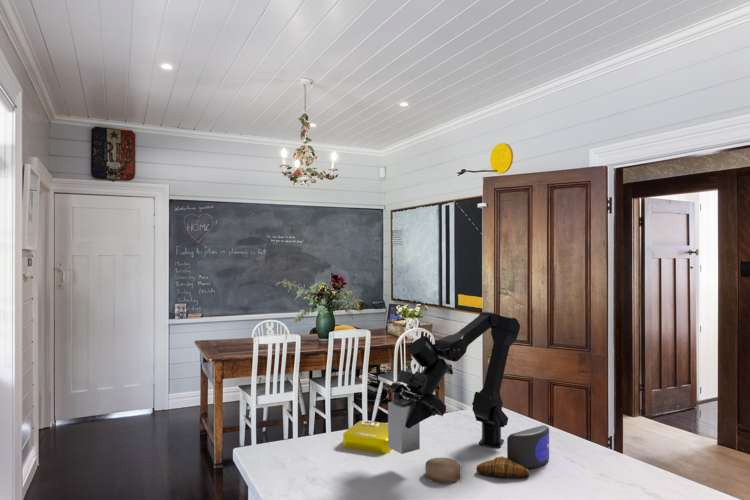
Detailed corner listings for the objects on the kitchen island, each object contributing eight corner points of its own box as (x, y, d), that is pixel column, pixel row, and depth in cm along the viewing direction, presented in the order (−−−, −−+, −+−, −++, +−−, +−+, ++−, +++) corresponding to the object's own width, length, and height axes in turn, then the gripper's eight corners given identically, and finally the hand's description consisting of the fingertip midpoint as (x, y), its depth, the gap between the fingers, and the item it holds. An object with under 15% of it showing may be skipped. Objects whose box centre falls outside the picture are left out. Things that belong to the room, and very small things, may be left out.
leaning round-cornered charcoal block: (519, 475, 133) (518, 438, 133) (505, 469, 136) (505, 433, 137) (558, 461, 142) (558, 427, 142) (544, 456, 145) (544, 423, 146)
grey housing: (405, 442, 140) (405, 397, 140) (419, 449, 135) (419, 402, 135) (388, 447, 136) (388, 400, 137) (401, 454, 132) (401, 405, 132)
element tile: (340, 448, 152) (340, 432, 152) (360, 432, 166) (360, 417, 166) (387, 455, 146) (387, 439, 147) (404, 438, 160) (404, 423, 160)
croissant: (528, 472, 135) (527, 453, 135) (530, 483, 128) (530, 463, 128) (476, 468, 137) (476, 449, 137) (476, 478, 131) (476, 459, 131)
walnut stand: (432, 466, 138) (432, 455, 138) (464, 472, 134) (464, 461, 134) (420, 479, 130) (420, 467, 130) (454, 486, 126) (454, 474, 126)
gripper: (394, 353, 146) (362, 398, 140) (437, 365, 131) (404, 415, 124) (415, 377, 150) (385, 421, 144) (460, 390, 135) (428, 441, 129)
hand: (399, 424), depth 135 cm, fingers closed on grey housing, 6 cm apart
